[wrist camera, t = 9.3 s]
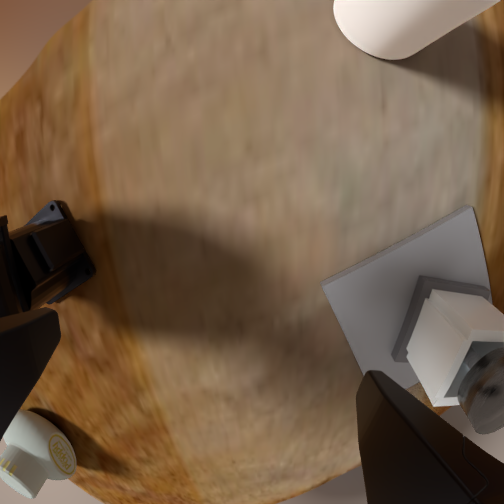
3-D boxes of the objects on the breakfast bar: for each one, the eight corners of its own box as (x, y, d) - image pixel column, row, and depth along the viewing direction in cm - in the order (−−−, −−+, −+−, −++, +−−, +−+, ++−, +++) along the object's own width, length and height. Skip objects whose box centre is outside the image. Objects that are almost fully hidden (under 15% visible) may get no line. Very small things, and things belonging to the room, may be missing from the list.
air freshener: (88, 464, 31) (60, 519, 21) (43, 449, 31) (13, 496, 22) (55, 407, 28) (12, 466, 18) (10, 392, 28) (-33, 440, 19)
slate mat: (373, 397, 24) (375, 403, 23) (320, 282, 21) (321, 286, 20) (491, 331, 21) (495, 336, 21) (466, 204, 19) (472, 206, 18)
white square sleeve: (390, 354, 22) (419, 413, 15) (419, 275, 20) (465, 319, 13) (467, 357, 21) (503, 404, 15) (496, 288, 19) (545, 326, 13)
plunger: (416, 360, 19) (460, 438, 12) (439, 303, 18) (501, 372, 10) (462, 361, 19) (510, 428, 12) (485, 309, 18) (547, 368, 10)
